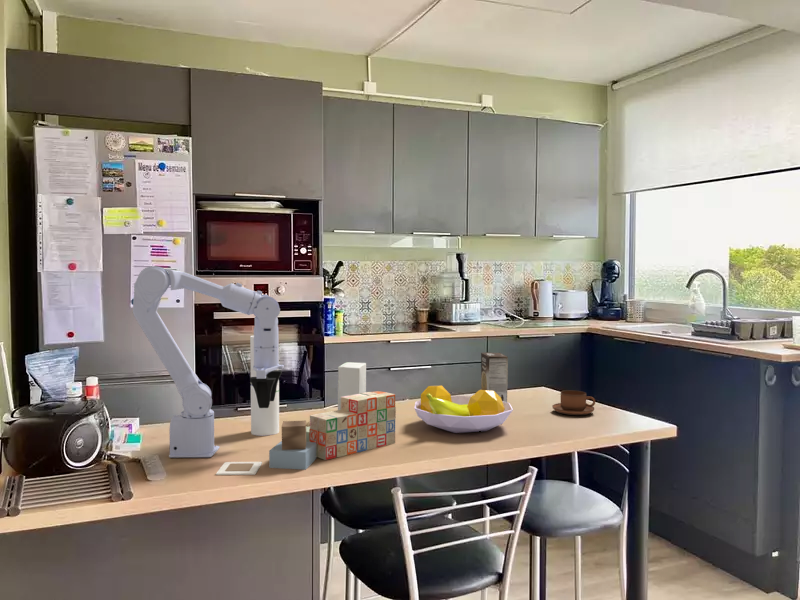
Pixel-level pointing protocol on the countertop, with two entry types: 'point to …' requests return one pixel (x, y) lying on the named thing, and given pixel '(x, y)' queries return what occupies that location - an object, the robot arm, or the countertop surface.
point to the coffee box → (494, 373)
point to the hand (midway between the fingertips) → (266, 404)
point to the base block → (292, 457)
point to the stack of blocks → (354, 425)
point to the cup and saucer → (574, 403)
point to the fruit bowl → (462, 410)
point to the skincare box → (351, 380)
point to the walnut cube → (293, 435)
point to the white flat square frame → (239, 468)
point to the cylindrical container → (263, 418)
